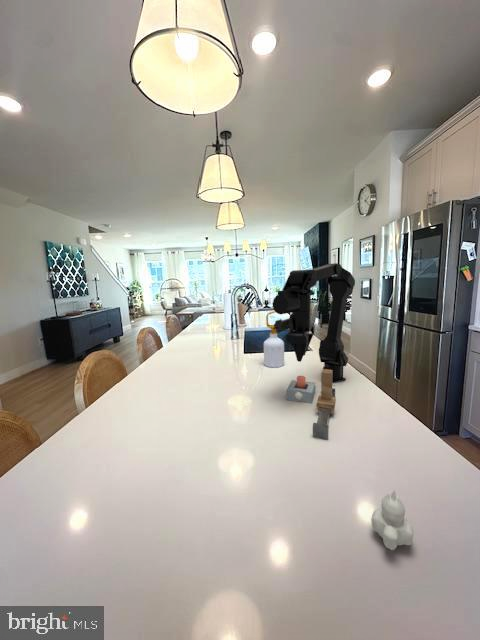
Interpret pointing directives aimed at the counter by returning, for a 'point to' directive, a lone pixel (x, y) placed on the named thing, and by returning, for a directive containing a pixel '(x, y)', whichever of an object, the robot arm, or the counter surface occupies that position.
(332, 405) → the wooden t-block
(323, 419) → the rail
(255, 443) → the counter surface
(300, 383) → the button
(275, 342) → the soap bottle
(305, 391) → the box
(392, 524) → the white animal figurine
